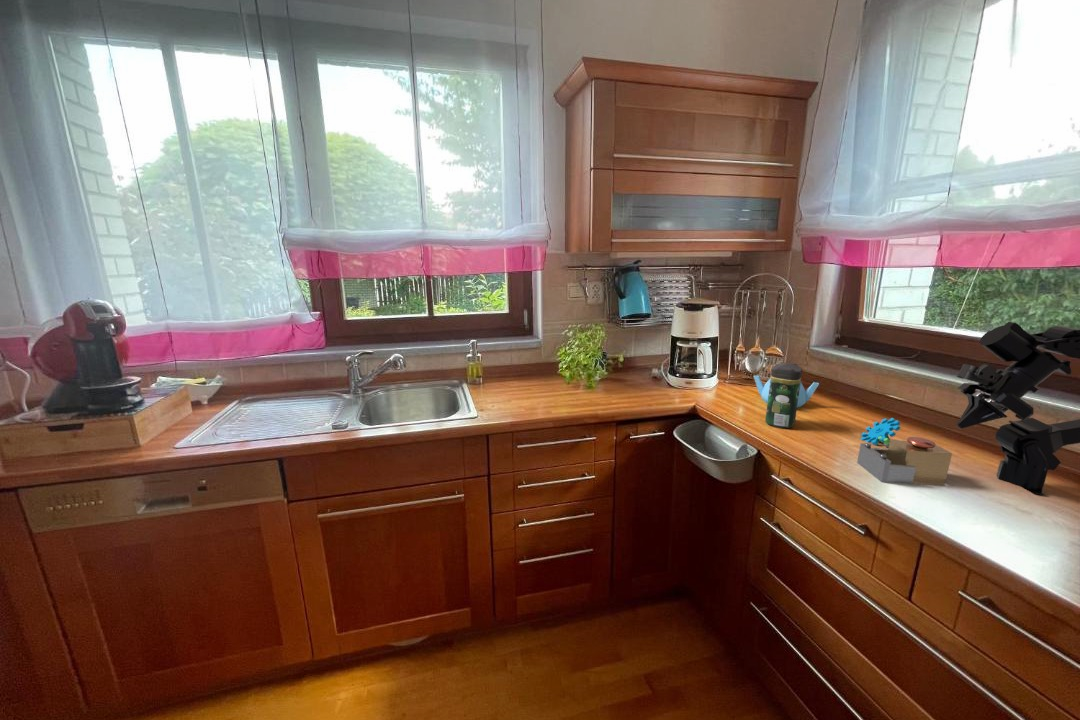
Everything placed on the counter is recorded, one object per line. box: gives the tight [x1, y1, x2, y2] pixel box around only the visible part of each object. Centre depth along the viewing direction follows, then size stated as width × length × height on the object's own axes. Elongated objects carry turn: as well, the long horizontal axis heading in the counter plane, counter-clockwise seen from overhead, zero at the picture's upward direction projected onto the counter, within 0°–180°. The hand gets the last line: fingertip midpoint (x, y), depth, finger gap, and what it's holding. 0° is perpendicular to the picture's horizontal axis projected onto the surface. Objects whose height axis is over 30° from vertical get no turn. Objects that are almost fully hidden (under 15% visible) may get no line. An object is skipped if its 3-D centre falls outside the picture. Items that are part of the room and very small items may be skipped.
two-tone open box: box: [856, 442, 952, 488], centre depth 103 cm, size 14×10×7 cm
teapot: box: [753, 375, 820, 409], centre depth 156 cm, size 15×15×11 cm
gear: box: [860, 417, 901, 448], centre depth 121 cm, size 11×6×10 cm
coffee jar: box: [764, 361, 803, 429], centre depth 135 cm, size 10×8×19 cm
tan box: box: [887, 436, 953, 483], centre depth 102 cm, size 9×6×8 cm, turn 83°
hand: (958, 426), depth 101 cm, fingers closed
